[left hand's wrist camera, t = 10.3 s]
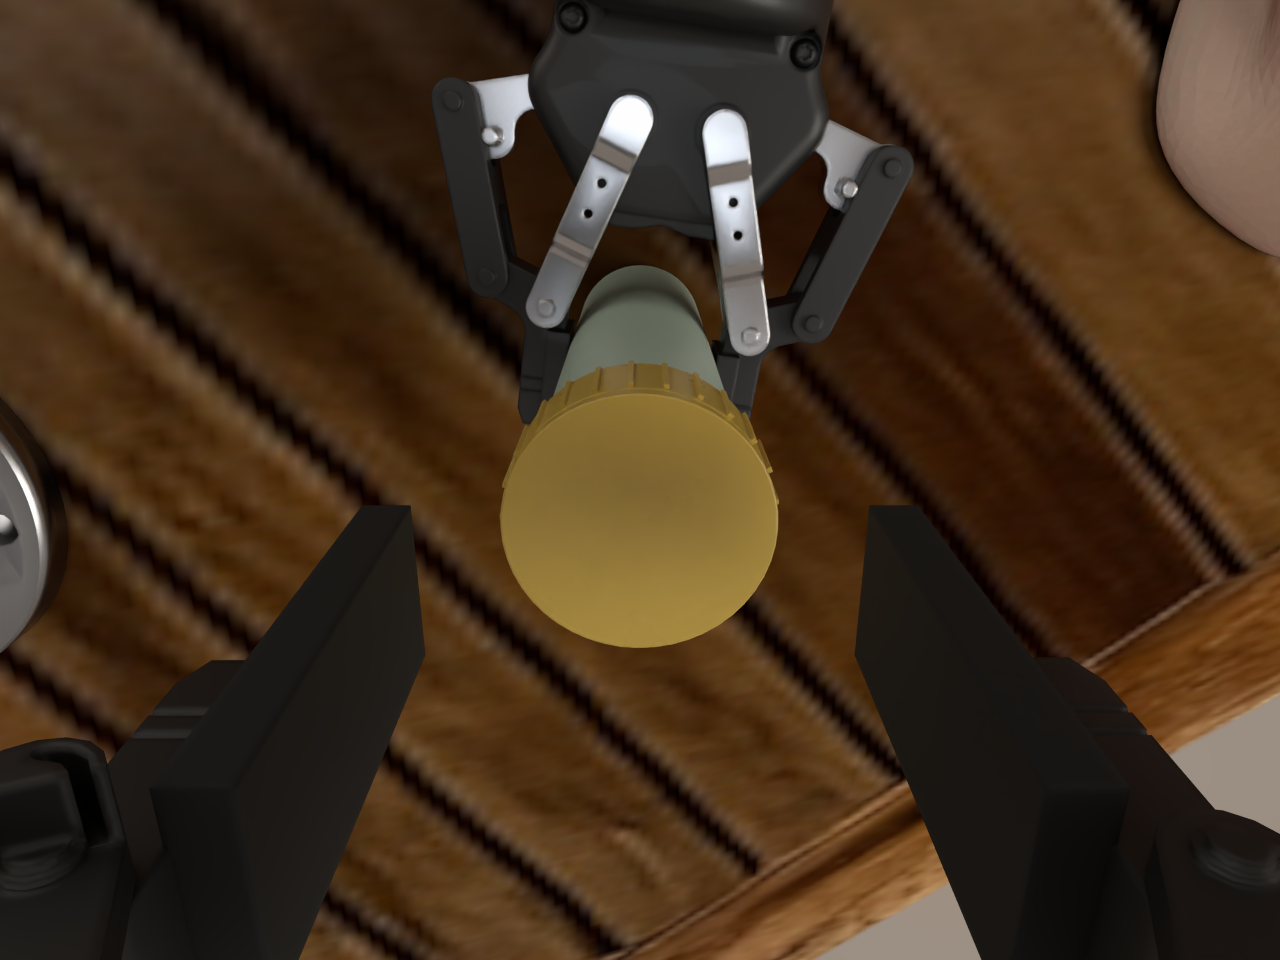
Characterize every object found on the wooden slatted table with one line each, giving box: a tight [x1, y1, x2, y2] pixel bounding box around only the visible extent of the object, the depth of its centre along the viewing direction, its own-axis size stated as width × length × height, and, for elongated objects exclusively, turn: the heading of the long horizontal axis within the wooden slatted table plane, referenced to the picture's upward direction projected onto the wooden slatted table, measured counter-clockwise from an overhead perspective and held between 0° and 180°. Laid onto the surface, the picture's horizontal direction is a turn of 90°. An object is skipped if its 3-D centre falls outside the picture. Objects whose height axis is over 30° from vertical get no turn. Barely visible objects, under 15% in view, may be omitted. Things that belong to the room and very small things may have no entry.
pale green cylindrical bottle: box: [553, 265, 724, 396], centre depth 26 cm, size 4×4×19 cm
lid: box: [500, 360, 779, 648], centre depth 18 cm, size 5×5×2 cm
